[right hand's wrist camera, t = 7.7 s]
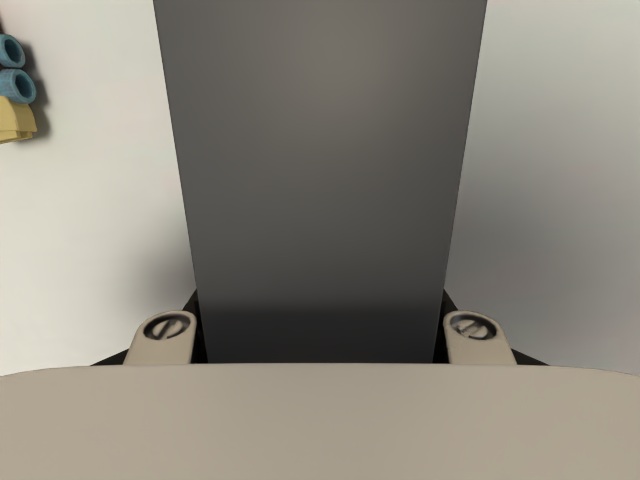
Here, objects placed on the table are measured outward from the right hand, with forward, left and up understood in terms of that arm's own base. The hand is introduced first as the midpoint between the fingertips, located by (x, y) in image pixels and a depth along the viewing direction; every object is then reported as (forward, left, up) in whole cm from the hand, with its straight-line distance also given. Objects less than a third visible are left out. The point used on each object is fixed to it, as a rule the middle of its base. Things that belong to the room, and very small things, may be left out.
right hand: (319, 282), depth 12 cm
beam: (+25, -11, -2) cm, 27 cm away
